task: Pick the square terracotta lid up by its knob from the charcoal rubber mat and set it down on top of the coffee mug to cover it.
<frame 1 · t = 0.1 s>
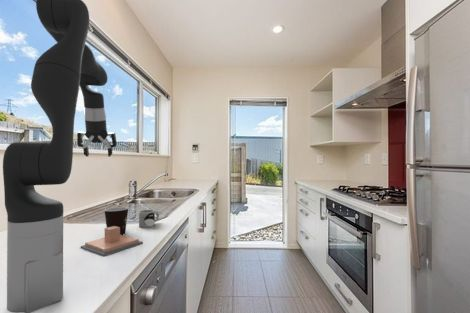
hand: (98, 155, 107), 31 cm above the counter, tool tilted 20°, fingers open, 8 cm apart
mug: (149, 225, 114), on the counter
lid: (112, 243, 86), point 1 cm above the counter, touching mat
coffee mug: (119, 233, 101), on the counter
mat: (112, 245, 86), on the counter
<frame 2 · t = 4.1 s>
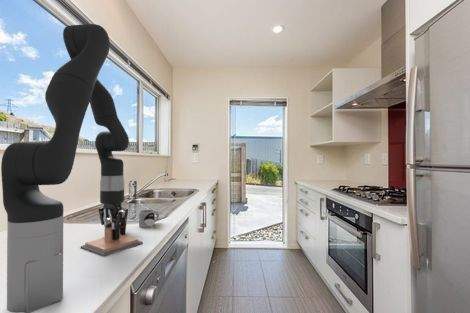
hand: (112, 238, 86), 2 cm above the counter, tool pointing down, fingers closed on lid, 3 cm apart
lid: (112, 243, 86), point 1 cm above the counter, touching gripper, mat
everything else where it was.
when the fingers open (13 cm above the counter, at t = 8.8 s): lid drops 2 cm, resting on coffee mug.
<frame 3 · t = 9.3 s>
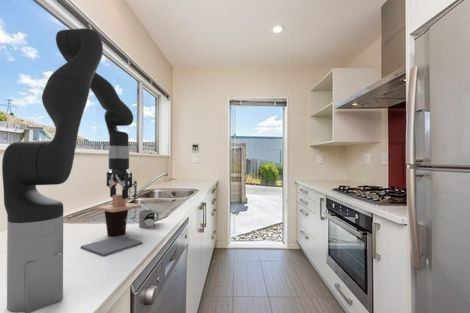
hand: (119, 197, 102), 14 cm above the counter, tool pointing down, fingers open, 8 cm apart
lid: (119, 208, 102), point 10 cm above the counter, touching coffee mug
coffee mug: (119, 233, 101), on the counter, touching lid
everything else where it was.
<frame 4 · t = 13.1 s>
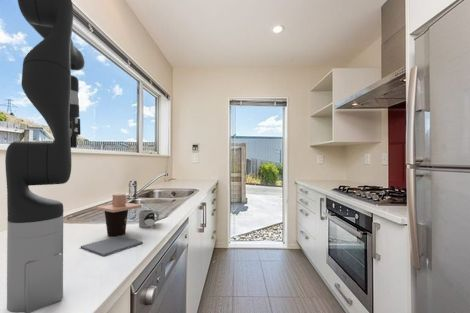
hand: (67, 147, 92), 34 cm above the counter, tool pointing down, fingers open, 8 cm apart
nothing on the counter moved.
at the end: lid inside the target area on the coffee mug (0.0 cm from its centre), point 10.2 cm above the coffee mug's base; lid touching coffee mug; lid tilted 0° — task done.
